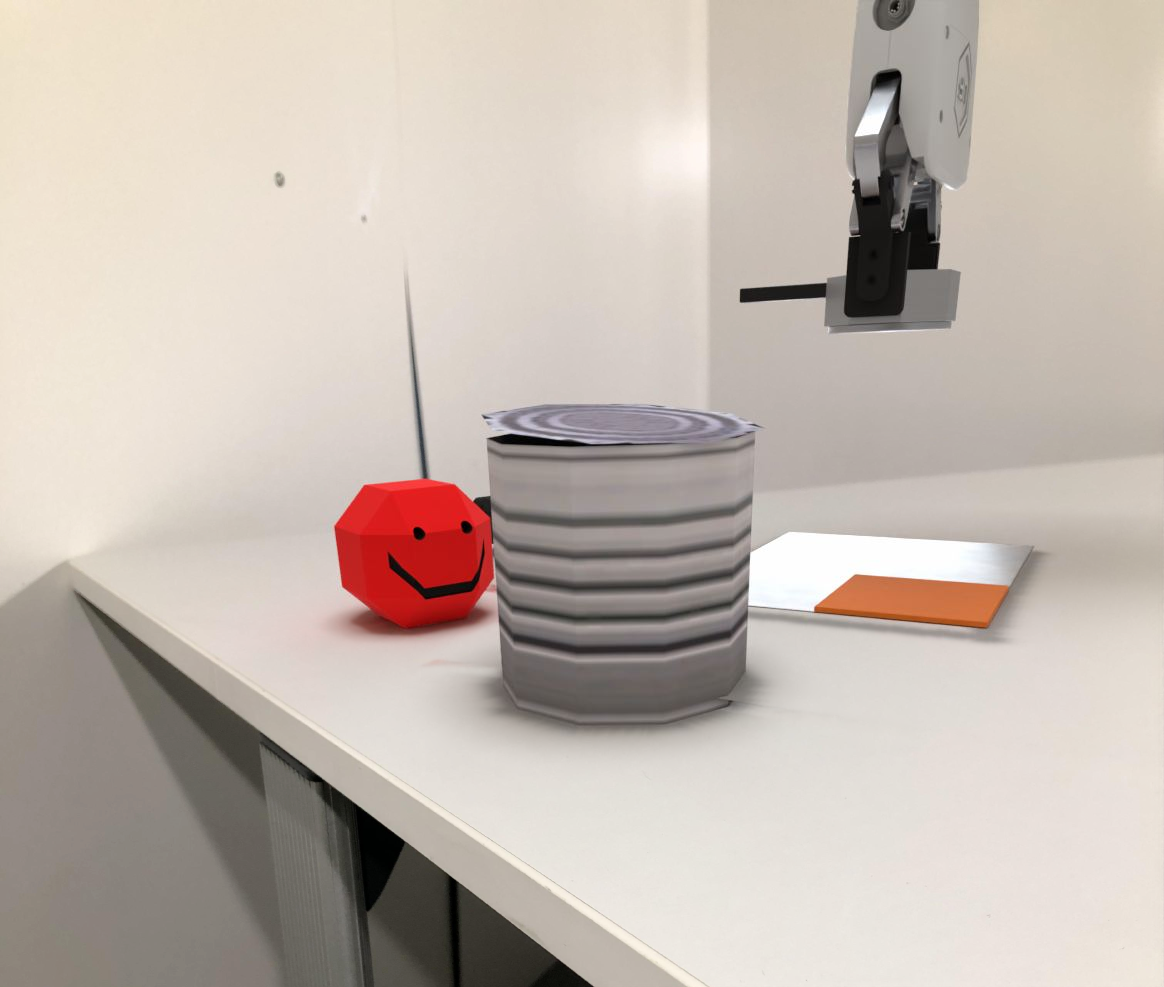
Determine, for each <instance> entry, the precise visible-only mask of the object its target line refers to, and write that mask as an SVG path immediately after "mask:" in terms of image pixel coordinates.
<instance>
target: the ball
mask: <svg viewBox="0 0 1164 987" xmlns="http://www.w3.org/2000/svg"><path fill="white" fill-rule="evenodd" d="M473 501H474V500H472V499H471V498H470V497H469V496H468V495H467V494H466V493H464V491H463V490H462V489H461V488H460V487H459V486H457V485H456V483H451V482H446V481H440V480H434V479H429V478H418V479H417V478H416V479H409V480H407V479H406V480H399V481H389V482H378V483H369V484H363V486H362V487H361V488H360V490H359V491H358V493H357V494H356V495H355V497H353V499H352V501H351V502H350V503H349V505H348V507H346V509H345V510H344V512H343V513H342V514H341V515H340V517H339V518H338V520H337V521H336V523H335V524H334V525H333V529H334V536H335V543H336V544H335V545H336V551H337V559H338V566H339V574H340V581H341V588H343V589H344V590H345V591H346V592H348V593H349V594H350V595H351V596H353V597H355V599H357V600H358V601H360V602H361V603H362V604H364V605H365V606H366V607H367V608H369V610H371V611H372V612H373V613H375V615H377V616H379V617H381V618H382V619H385V620H387V621H388V622H391V623H393V624H395V625H397V626H399V627H401V628H403V629H405V630H407V629H412V628H413V629H414V628H417V627H424V626H428V625H429V626H430V625H434V624H439V623H440V624H441V623H444V622H450V621H456V620H462V619H466V618H467V617H468V615H469V614H470V613H471V612H472V610H473V608H474V607H475V606H476V605H477V603H478V601H479V600H480V599H481V597H482V596H483V594H485V592H486V591H487V589H488V588H489V586H490V585H491V583H492V582H493V581H494V580H495V570H494V569H495V566H494V555H493V554H494V551H493V544H492V537H491V522H490V517H489V516H487V515H486V514H485V513H484V512H483V511H482V510H481V509H480V508H479V507H478V506H477V505H476V504H475V503H474V502H473Z"/></svg>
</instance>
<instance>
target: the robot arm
mask: <svg viewBox="0 0 1164 987" xmlns="http://www.w3.org/2000/svg"><path fill="white" fill-rule="evenodd" d="M855 11H856V12H855V13H856V14H855V21H854V30H853V41H852V47H851V58H850V70H849V80H848V92H847V106H846V120H845V147H844V148H845V150H844V151H845V153H844V154H845V168H846V172H847V174H848V176H849V177H850V178H851V179H852V182H851V186H852V187H853V189H852V190H851V194H852V195H854V196H853V201H852V205H851V209H850V214H849V222H848V228H849V229H848V230H849V235H850V236H848V243H847V244H848V245H847V259H846V272H845V273H846V274H845V275H846V286H845V300H844V314H845V315H846V316H847V317H851V318H854V317H874V316H894V315H899V314H900V313H901V312H902V311H903V309H904V301H905V291H906V280H907V270H928V269H939V260H940V250H941V242H940V239H941V233H942V208H943V207H942V206H943V203H942V189H943V187H945V188H947V189H948V190H950V191H958V190H959V189H961V188H962V187H963V186H964V184H966V182H967V180H968V178H969V169H970V168H969V167H970V156H971V142H972V129H973V118H974V117H973V115H974V102H975V89H976V76H977V63H978V62H977V61H978V45H979V26H980V25H979V24H980V0H857V5H856V7H855ZM915 183H916V184H915Z"/></svg>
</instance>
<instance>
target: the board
mask: <svg viewBox="0 0 1164 987" xmlns="http://www.w3.org/2000/svg"><path fill="white" fill-rule="evenodd" d="M1034 548H1035V546H1034V545H1029V544H1012V543H992V542H975V541H974V542H973V541H957V540H942V539H941V540H939V539H924V538H923V539H921V538H920V539H919V538H902V537H887V536H867V535H851V534H850V535H849V534H835V533H834V534H832V533H829V534H828V533H815V532H797V531H789V532H788V531H787V532H786V533H784V534H783V535H780V536H779V537H777V538H775V539H774V540H771V541H770V542H768V543H766V544H764V545H762V546H760V547H759V548H757V549H754V550H753V551H750V576H749V601H748V608H760V609H771V610H781V611H782V610H783V611H790V612H791V611H792V612H803V613H811V614H812V613H813V614H823V615H835V616H843V617H844V616H845V617H846V616H847V617H856V618H865V619H866V618H867V619H876V620H886V621H887V620H888V621H897V622H907V623H909V622H910V623H920V624H930V625H940V626H941V625H942V626H951V627H963V628H973V629H983V630H987V628H989V627H990V624H991V622H992V621H993V619H994V617H995V615H996V613H997V612H998V611H999V608H1000V606H1001V605H1002V603H1003V602H1004V599H1005V598H1006V596H1007V595H1008V592H1010V590H1011V588H1012V585H1013V584H1014V582H1015V581H1016V579H1017V577H1018V575H1019V574H1020V572H1021V570H1022V568H1023V567H1024V565H1025V563H1026V561H1027V560H1028V558H1029V557H1030V554H1031V553H1032V551H1033V550H1034ZM855 574H860V575H873V576H887V577H900V578H914V579H927V580H941V581H954V582H968V583H981V584H995V585H1008V586H1009V590H1008V592H1007V593H1006V595H1005V597H1004V599H1003V600H1002V602H1001V604H1000V606H999V607H998V609H997V611H996V612H995V614H994V616H993V618H992V619H991V621H990V623H989V625H988V626H987V628H983V627H973V626H962V625H951V624H941V623H930V622H919V621H909V620H898V619H887V618H876V617H866V616H855V615H844V614H834V613H823V612H814V607H815V606H816V605H817V604H818V603H820V602H821V601H822V600H823V599H825V598H826V597H827V596H828V595H830V594H831V593H832V592H833V591H835V590H836V589H837V588H838V587H840V586H841V585H842V584H843V583H845V582H846V581H847V580H849V579H850V578H851V577H852V576H854V575H855Z"/></svg>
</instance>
